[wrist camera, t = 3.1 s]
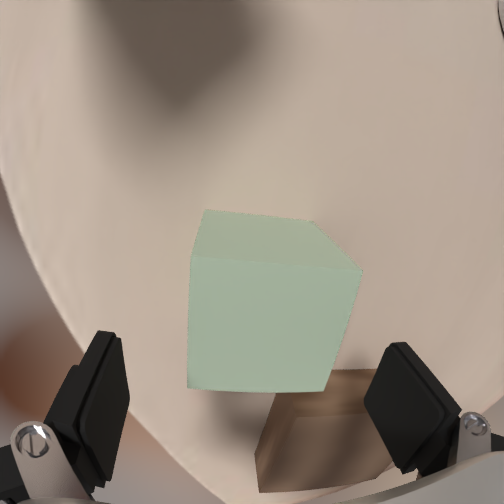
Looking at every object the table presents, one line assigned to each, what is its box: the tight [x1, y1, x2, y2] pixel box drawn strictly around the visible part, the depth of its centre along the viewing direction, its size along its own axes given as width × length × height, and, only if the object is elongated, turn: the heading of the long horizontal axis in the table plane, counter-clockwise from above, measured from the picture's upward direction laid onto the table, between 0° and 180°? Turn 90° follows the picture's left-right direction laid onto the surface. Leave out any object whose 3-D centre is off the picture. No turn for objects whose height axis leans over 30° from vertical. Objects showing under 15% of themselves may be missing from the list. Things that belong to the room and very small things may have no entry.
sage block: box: [187, 210, 363, 393], centre depth 14 cm, size 6×6×7 cm
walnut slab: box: [255, 369, 393, 493], centre depth 21 cm, size 12×12×5 cm
